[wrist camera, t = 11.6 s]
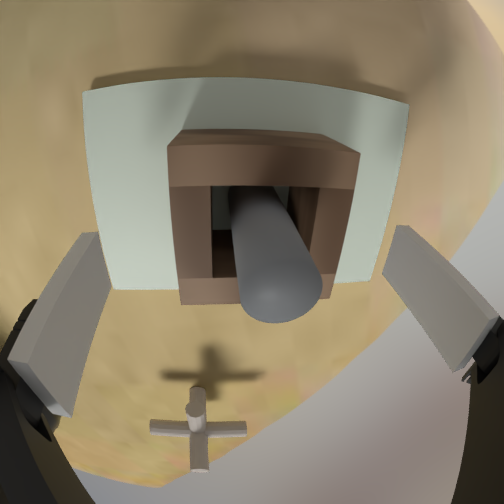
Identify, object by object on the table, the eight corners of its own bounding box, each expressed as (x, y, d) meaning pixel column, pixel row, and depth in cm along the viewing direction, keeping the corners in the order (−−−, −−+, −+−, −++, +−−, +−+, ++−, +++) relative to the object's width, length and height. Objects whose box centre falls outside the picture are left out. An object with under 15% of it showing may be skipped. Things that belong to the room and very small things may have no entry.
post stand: (117, 281, 20) (80, 391, 12) (89, 91, 13) (-25, 112, 4) (364, 273, 23) (422, 366, 14) (401, 103, 15) (519, 138, 7)
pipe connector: (147, 364, 26) (137, 453, 18) (244, 366, 27) (256, 456, 19) (161, 407, 31) (158, 477, 23) (238, 408, 33) (246, 478, 24)
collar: (187, 253, 19) (181, 304, 14) (181, 129, 14) (166, 146, 10) (305, 250, 20) (329, 298, 15) (322, 134, 15) (360, 153, 11)
